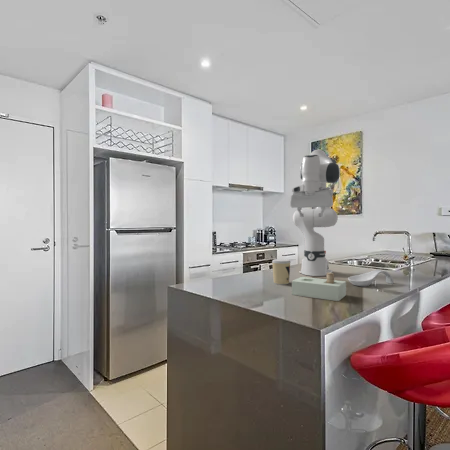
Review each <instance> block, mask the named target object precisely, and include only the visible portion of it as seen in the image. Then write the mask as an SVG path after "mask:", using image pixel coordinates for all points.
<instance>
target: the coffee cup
mask: <svg viewBox="0 0 450 450" xmlns="http://www.w3.org/2000/svg"><path fill="white" fill-rule="evenodd" d="M271 263H272V275H273V276H272V278H273V284H275V285H281V286H282V285H289V284H290V276H291V275H290V274H291V273H290V272H291V260H290V259H287V258H275V259H272V261H271Z"/></svg>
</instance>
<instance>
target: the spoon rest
mask: <svg viewBox="0 0 450 450" xmlns="http://www.w3.org/2000/svg"><path fill="white" fill-rule="evenodd" d="M380 274H384V276H385V283H387V284H392V285H393V284H394V279H393V276H392V275H391V273H390V272H388V271H386V270H381V269H374V270H371V271H367V272H364V273H361V274H356V275H351V276H348V277H347V280H348V281H349V283H351V284H352V285H354V286H356V287H368V286H370V285H371V284H372V283H373V282H374V280H376V278H377V276H379V275H380Z"/></svg>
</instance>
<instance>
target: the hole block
mask: <svg viewBox="0 0 450 450" xmlns="http://www.w3.org/2000/svg"><path fill="white" fill-rule="evenodd" d="M291 295H292V296H298V297H299V296H300V297H306V298H314V299H319V300H321V299H322V300H326V301H334V302H339V301H341V300H343V298H344V297H345V296H346V295H347V281H346V280H336V279H334V284H330V283H327V278H319V277H317V278H316V277H309V276H308V277H307V276H300V277H297V278H295V279H293V280H292V281H291Z"/></svg>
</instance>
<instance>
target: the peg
mask: <svg viewBox="0 0 450 450" xmlns="http://www.w3.org/2000/svg"><path fill="white" fill-rule="evenodd" d="M326 279H327V283H330V284H334V280H335V273H334V272H332V273H327V276H326Z"/></svg>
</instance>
